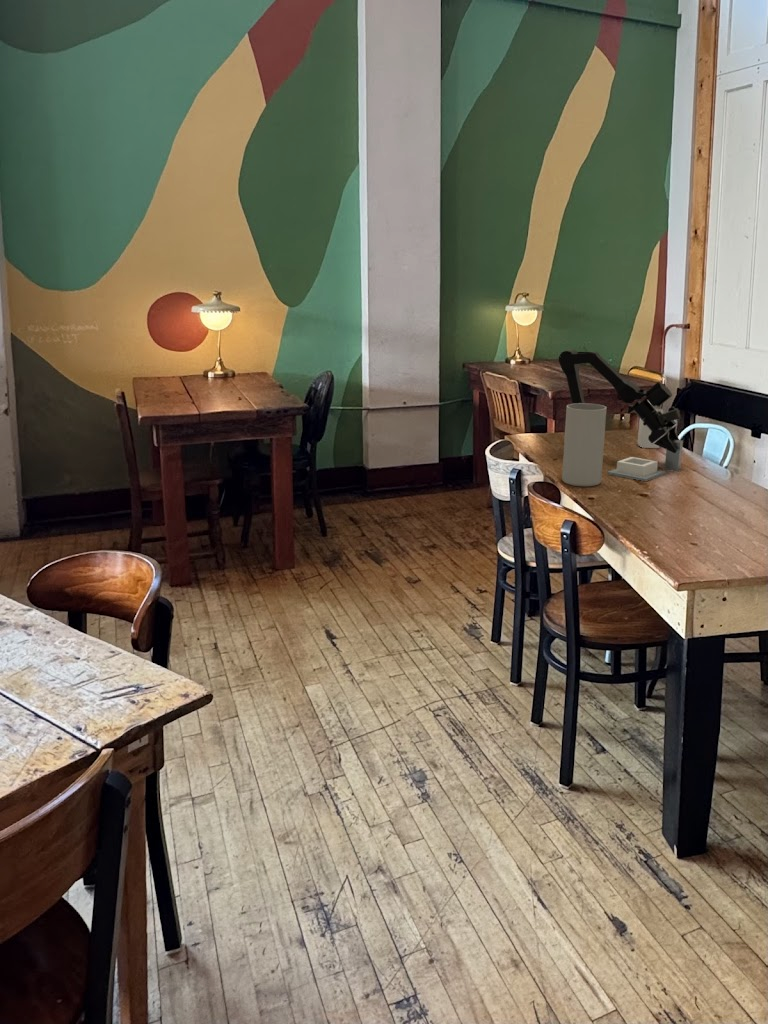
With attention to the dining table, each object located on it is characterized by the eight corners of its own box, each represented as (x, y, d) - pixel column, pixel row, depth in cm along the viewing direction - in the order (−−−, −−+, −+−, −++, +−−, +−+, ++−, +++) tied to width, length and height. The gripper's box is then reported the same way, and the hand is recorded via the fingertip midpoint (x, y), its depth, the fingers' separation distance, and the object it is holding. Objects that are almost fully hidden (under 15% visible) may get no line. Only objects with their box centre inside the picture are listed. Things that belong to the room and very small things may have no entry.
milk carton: (655, 444, 344) (660, 396, 339) (659, 448, 337) (664, 399, 332) (637, 444, 345) (641, 395, 339) (640, 448, 338) (644, 399, 333)
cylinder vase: (572, 488, 282) (577, 411, 275) (555, 478, 294) (559, 404, 287) (607, 485, 286) (613, 409, 278) (589, 476, 297) (594, 402, 290)
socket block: (645, 481, 290) (646, 468, 289) (607, 474, 299) (608, 461, 298) (665, 474, 300) (666, 461, 299) (628, 467, 309) (629, 454, 308)
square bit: (677, 471, 304) (680, 442, 301) (664, 469, 306) (667, 441, 303) (680, 468, 308) (682, 440, 305) (667, 467, 310) (669, 439, 307)
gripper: (661, 404, 294) (692, 440, 292) (672, 396, 309) (702, 430, 308) (635, 425, 300) (665, 460, 298) (648, 416, 315) (676, 449, 313)
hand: (678, 449), depth 304 cm, fingers open, 9 cm apart
